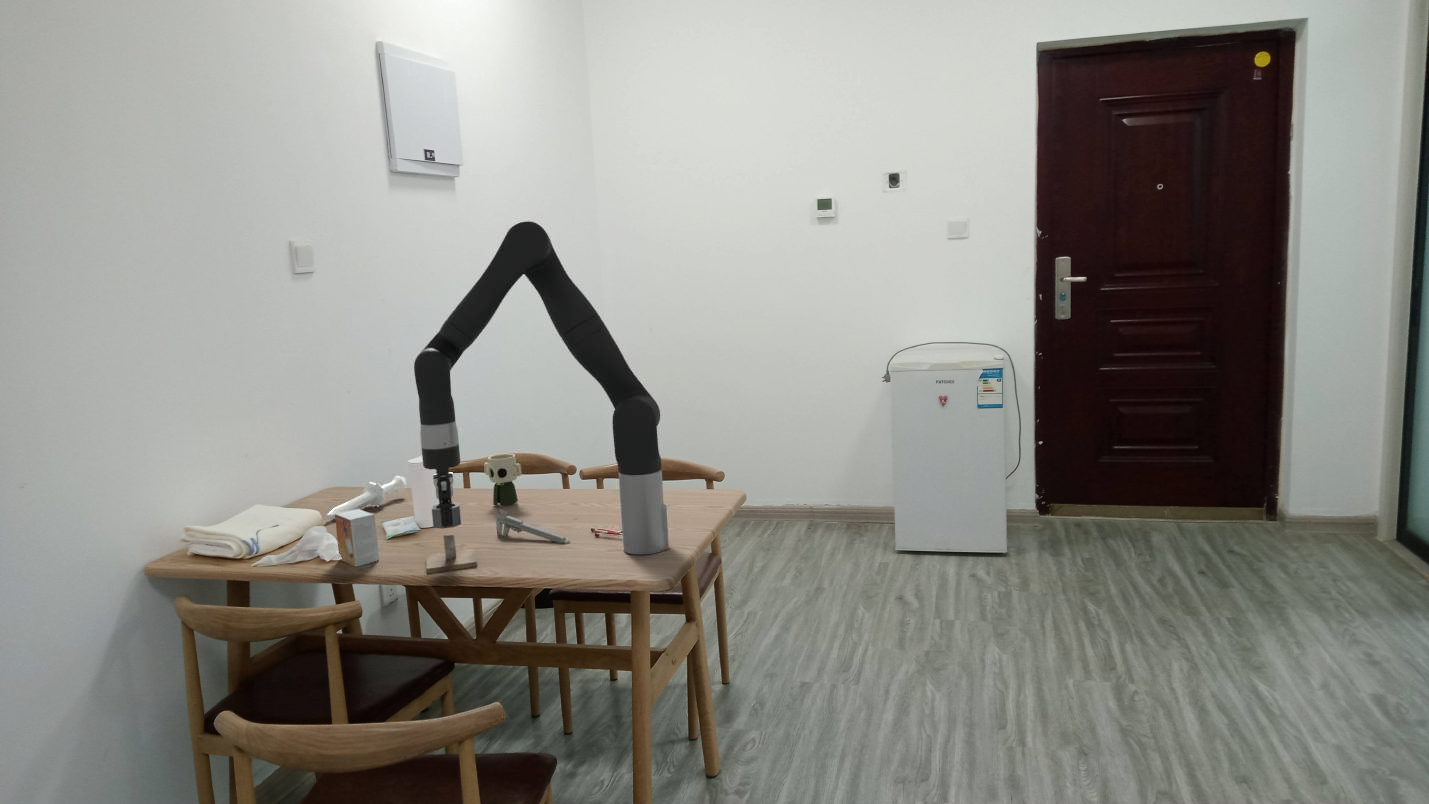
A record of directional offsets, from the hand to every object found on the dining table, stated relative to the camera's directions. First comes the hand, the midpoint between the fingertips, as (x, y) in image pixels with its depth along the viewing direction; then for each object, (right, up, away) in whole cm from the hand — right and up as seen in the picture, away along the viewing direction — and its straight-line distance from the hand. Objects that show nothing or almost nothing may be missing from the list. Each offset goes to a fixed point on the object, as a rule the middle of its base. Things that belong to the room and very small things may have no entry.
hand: (447, 522), depth 197 cm
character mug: (+2, -2, +47) cm, 47 cm away
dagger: (-35, -3, +50) cm, 61 cm away
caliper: (+15, -6, +16) cm, 23 cm away
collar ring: (0, -1, 0) cm, 0 cm away
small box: (-21, -9, +6) cm, 24 cm away
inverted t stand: (+1, -9, +1) cm, 9 cm away
